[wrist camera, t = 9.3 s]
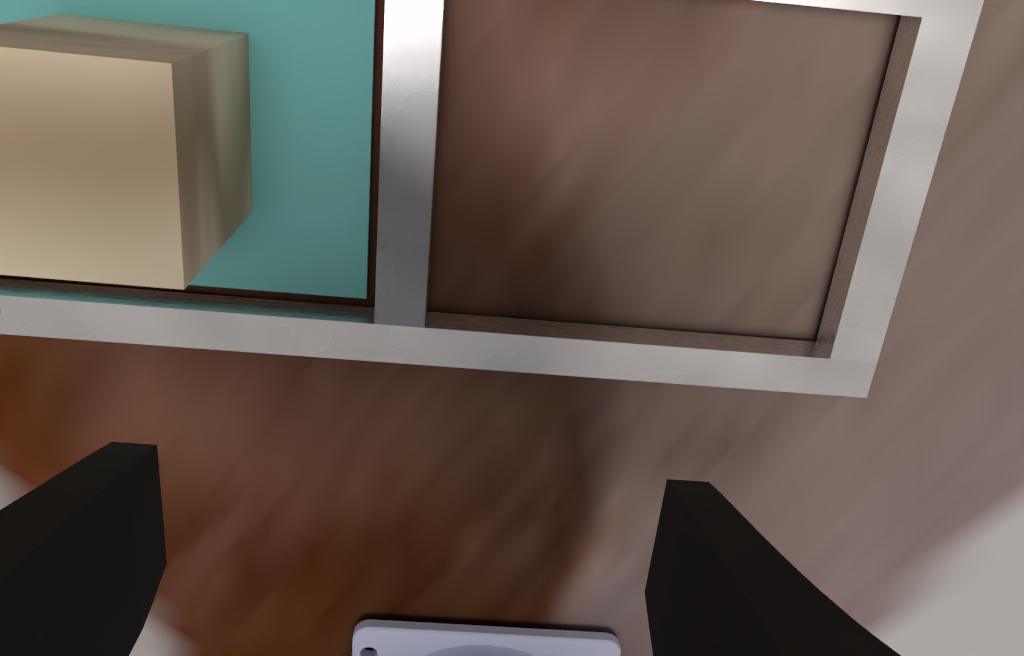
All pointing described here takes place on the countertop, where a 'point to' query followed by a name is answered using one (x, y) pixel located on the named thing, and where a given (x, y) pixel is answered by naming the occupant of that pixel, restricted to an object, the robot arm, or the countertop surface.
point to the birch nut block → (121, 149)
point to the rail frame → (410, 199)
